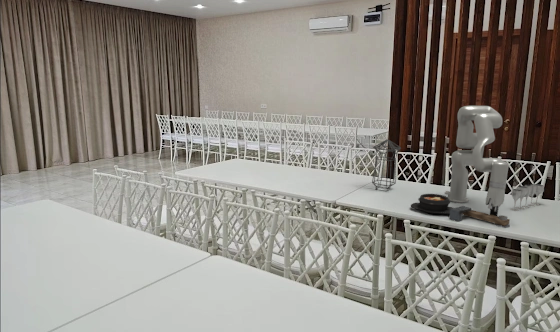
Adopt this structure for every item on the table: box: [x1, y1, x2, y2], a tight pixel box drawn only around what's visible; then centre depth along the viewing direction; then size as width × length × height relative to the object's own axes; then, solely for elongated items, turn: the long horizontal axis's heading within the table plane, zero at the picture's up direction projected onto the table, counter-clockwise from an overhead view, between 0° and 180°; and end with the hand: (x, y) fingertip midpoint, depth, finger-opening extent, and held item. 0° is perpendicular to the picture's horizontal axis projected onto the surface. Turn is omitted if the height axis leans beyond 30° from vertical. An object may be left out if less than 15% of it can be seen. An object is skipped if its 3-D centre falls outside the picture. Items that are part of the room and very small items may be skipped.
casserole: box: [410, 193, 454, 215], centre depth 226 cm, size 25×19×8 cm
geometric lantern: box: [371, 139, 402, 192], centre depth 271 cm, size 16×16×35 cm
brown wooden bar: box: [462, 209, 511, 226], centre depth 211 cm, size 22×5×4 cm, turn 37°
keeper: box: [449, 205, 473, 222], centre depth 214 cm, size 5×12×6 cm, turn 123°
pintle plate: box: [493, 223, 511, 228], centre depth 204 cm, size 7×7×1 cm
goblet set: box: [509, 183, 545, 212], centre depth 235 cm, size 28×6×13 cm, turn 119°
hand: (493, 217), depth 212 cm, fingers closed
